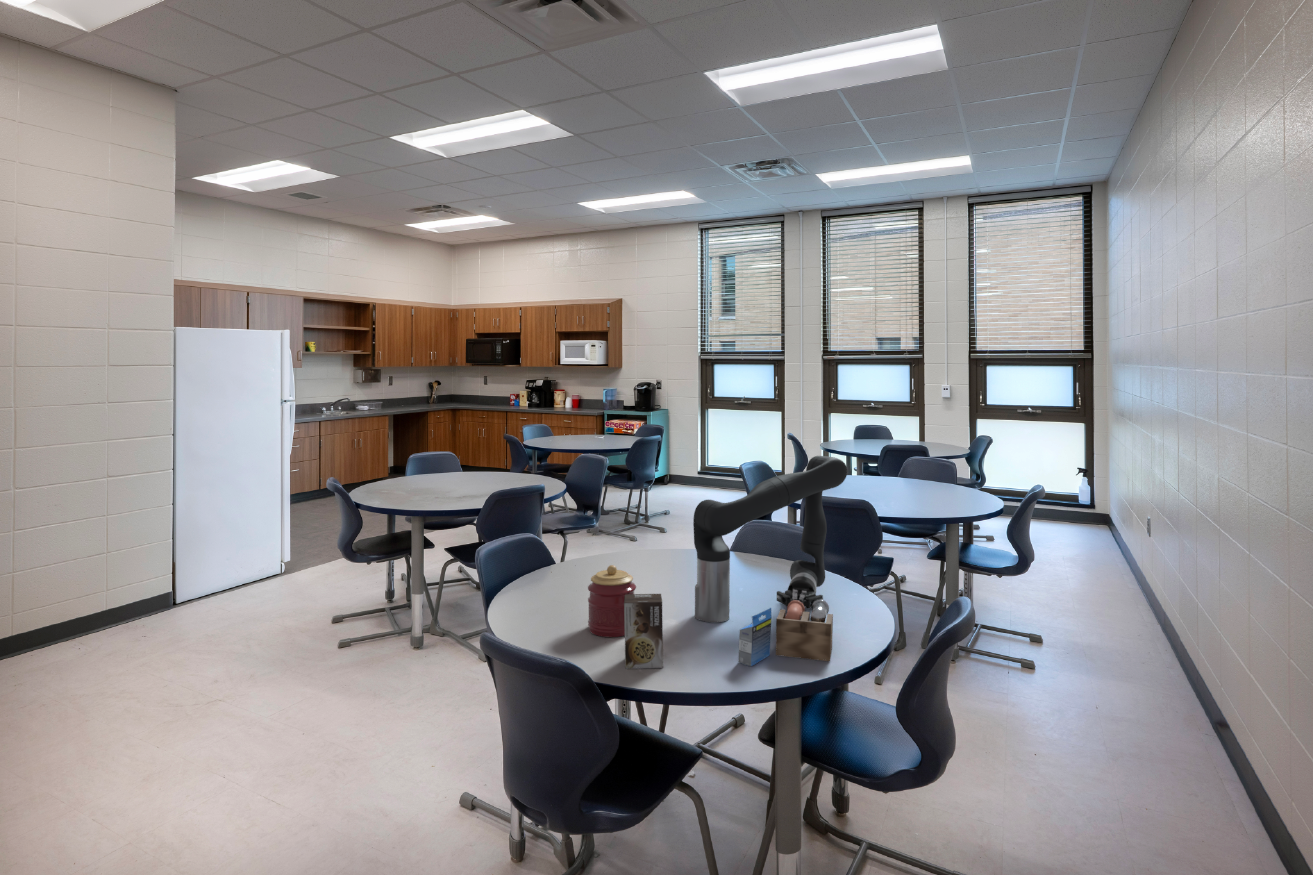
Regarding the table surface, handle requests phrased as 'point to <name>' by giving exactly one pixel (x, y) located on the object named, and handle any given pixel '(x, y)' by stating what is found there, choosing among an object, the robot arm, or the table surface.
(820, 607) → the steel plug
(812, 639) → the wooden plug holder
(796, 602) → the brick plug
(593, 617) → the canister
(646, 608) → the coffee box
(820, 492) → the robot arm
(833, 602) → the table surface
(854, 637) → the table surface
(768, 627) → the label tape box
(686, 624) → the table surface
